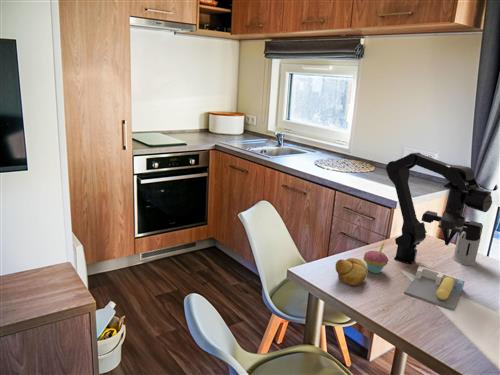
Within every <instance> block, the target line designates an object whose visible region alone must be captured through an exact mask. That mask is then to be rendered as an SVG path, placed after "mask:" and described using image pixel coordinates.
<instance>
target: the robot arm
mask: <svg viewBox="0 0 500 375" xmlns="http://www.w3.org/2000/svg"><path fill="white" fill-rule="evenodd" d="M416 166H417V167H421V168H423V169H425V170H427V171H431V172H432V173H435V174H438V175H441V176H442V177H443V178H444V179H445V180H446V181H448V183H446V184H444V185H443V188H445V189H449V190H448V194H447V199H446V204H445V208H444V210H443V212H442V215H441V216H440V215H438V212H435V211H432V210H426V211H425V212H424V213H423V214H422V215H421V216H422V217H421V222H420V221H419V219H418V217H417V213H416V210H415V206H414V202H413V197H412V192H411V190H410V186H409V178H410V172H411V171H410V169H413V168H414V167H416ZM385 171H386V175H387V176H388V178H389V180H390V181H391V182H392V184H393V185H394V187H395V191H396V198H397V199H398V204H399V209H400V213H401V217H402V225H401V235H400V236H397V237H395V239H394V241H395V245H396V246H397V248H396V253H395V256H394V257H393V259H394V260H397V261H400V262H402V263H405V264H409V265H412V263H413V262H415V261H416V259H417V254H418V249H417V248H418V246H417V245H420V244H421V242H423V241H425V239H426V236H427V235H426V234H427V233H428V232H427V229H426V226H425V223H429V224H431V223H433V222H434V221H435V222H438V226H437V227H438V228H440V230H441V231H442V234H443V239H444V244H445V245H444V246H449V244H450V243H451V241H452V240H453V238H454V236H455V235H456V234H459V233H460V232H461V231H462V230H463V228H466V229H467V231H468V232H469V233H472V234H476V235H480V233H481V231H482V232H483V229H484V224H483V223H481V222H478V221H473V220H470V221H469V222H470V223H465V222H464V221H465V219H466V217H465V216H464V212H465V211H464V210H465V206H466V207H467V208H470V209H473V210H475V211H479V212H483V213H487V212H488V211H489V210H491V207H492V204H493V200H492V199H493V197H492V195H491V194H492V192H491V191H489V190H483V189H480V187H479V184H478V182H477V180H476V177H475V172H474V170H473V169H472V167H470V166H465V165H461V164H460V165H459V164H450V163H447V162H444V161H441V160H438V159H436V158H432V157H430V156H429V155H428V156H427V155H425V154H422V153H420V152H411V153H409V154H408V155H406V156H404V157H401V158H398V159H396V160H392V161H389V162H388V163H387V165H386V166H385ZM482 228H483V229H482ZM481 234H482V233H481Z"/></svg>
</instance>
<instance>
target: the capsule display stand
mask: <svg viewBox="0 0 500 375" xmlns="http://www.w3.org/2000/svg"><path fill="white" fill-rule="evenodd" d="M415 273H416V274H415V276H414V278H413V280H412V281H411V282H410V283H409V285H408V286H407V287H406V289H405V290H404V292H403V294H405V295H407V294H408V296H410V295H411V296H410V297H414V298H417V299H419V300H422V301H425V302H428V303H431V304H434V305H437V306H438V307H439V306H440V307H442V308H444V309H448V310H451V311H454V310H455V308H456V306H457V304H458V301H459V299H460V296H461V294H462V293H463V290H464V286H465V282H466V280H465V279H462V278H460V277H459V278H458V277H456V276H454V275H450V274H446V273H443V272H439V271H437V270H434V269H430V268H427V267H423V266H420V265H419V266H418V268H417V269H416V272H415ZM446 277H450V278H452V279H453V280H454V283H455V284H454V286H453V288H452V290H451V292H450V294H449V296H448V298H447V299H446V300H440V299H439V298H438V297H437V295H436V292H437V290H438V288H439V286H440V285H441V283H442V281H443V280H444V279H445V278H446Z"/></svg>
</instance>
